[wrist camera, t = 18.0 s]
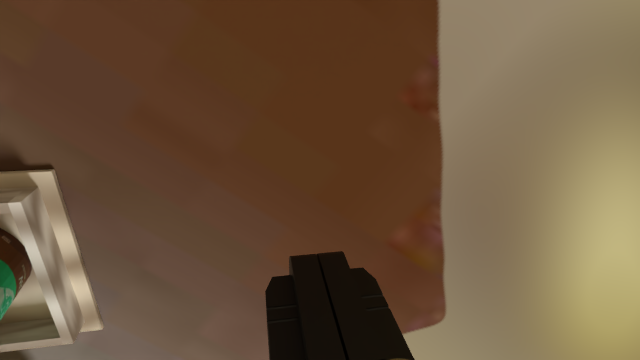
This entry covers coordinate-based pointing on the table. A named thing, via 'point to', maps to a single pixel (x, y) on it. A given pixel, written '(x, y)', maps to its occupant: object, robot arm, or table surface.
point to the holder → (44, 266)
